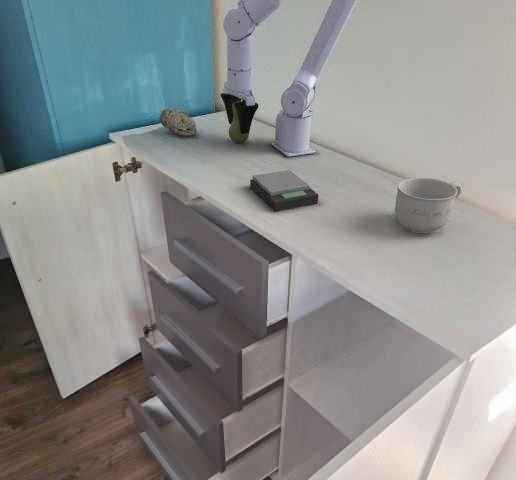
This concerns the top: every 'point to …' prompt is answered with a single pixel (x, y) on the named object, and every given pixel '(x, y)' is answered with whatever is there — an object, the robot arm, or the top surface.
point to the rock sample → (178, 122)
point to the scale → (283, 190)
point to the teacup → (425, 203)
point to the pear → (236, 128)
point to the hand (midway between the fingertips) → (238, 128)
